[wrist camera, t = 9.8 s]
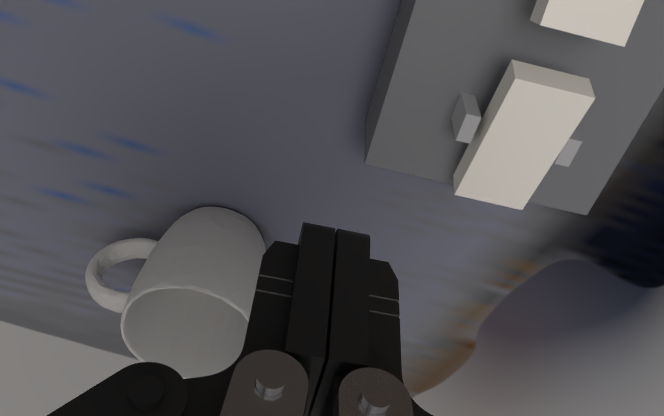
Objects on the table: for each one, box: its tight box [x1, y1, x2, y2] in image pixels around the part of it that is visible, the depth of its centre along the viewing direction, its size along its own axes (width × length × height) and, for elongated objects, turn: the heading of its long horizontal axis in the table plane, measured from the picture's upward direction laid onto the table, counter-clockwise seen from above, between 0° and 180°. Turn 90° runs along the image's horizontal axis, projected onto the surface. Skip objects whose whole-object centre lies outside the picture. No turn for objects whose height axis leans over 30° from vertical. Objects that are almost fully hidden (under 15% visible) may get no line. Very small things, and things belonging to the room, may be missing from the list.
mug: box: [85, 207, 266, 379], centre depth 44 cm, size 13×9×10 cm
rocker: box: [453, 60, 595, 210], centre depth 33 cm, size 8×4×2 cm, turn 166°
